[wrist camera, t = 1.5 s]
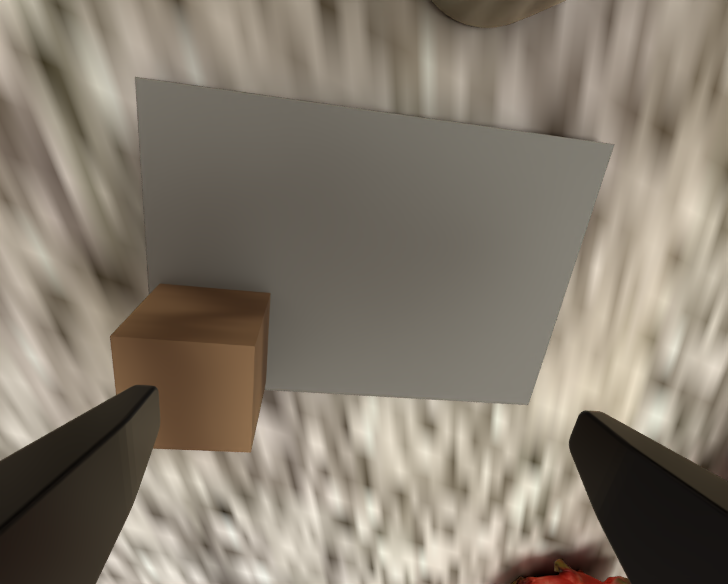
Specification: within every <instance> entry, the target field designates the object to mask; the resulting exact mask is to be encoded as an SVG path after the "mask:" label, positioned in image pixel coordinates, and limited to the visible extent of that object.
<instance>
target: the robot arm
mask: <svg viewBox="0 0 728 584" xmlns="http://www.w3.org/2000/svg"><path fill="white" fill-rule="evenodd" d="M159 428H160V405H159V392H158V389H157V387H155V386H151V385H134V386H132V387H130V388H128V389H126V390H124V391H123V392H121V393H119V394H117V395H116V396H114V397H112V398H110V399H108V400H107V401H105V402H103V403H101V404H100V405H98V406H96V407H94V408H93V409H91V410H89V411H87V412H86V413H84V414H82V415H80V416H78V417H77V418H75V419H73V420H71V421H70V422H68V423H66V424H64V425H63V426H61V427H59V428H57V429H55V430H54V431H52V432H50V433H48V434H47V435H45V436H43V437H41V438H40V439H38V440H36V441H34V442H33V443H31V444H29V445H27V446H25V447H24V448H22V449H20V450H18V451H17V452H15V453H13V454H11V455H10V456H8V457H6V458H4V459H2V460H1V461H0V584H96V582H97V580H98V578H99V576H100V574H101V572H102V570H103V568H104V565H105V563H106V561H107V559H108V557H109V555H110V553H111V551H112V549H113V547H114V544H115V542H116V540H117V538H118V536H119V534H120V532H121V530H122V528H123V526H124V523H125V521H126V519H127V517H128V515H129V513H130V510H131V508H132V506H133V503H134V501H135V498H136V495H137V493H138V490H139V487H140V484H141V481H142V478H143V475H144V472H145V470H146V467H147V464H148V461H149V458H150V455H151V452H152V449H153V446H154V443H155V441H156V438H157V435H158V432H159ZM569 448H570V452H571V455H572V457H573V460H574V462H575V465H576V467H577V470H578V472H579V475H580V477H581V480H582V482H583V485H584V487H585V490H586V492H587V495H588V497H589V500H590V502H591V504H592V507H593V509H594V512H595V514H596V516H597V518H598V520H599V522H600V524H601V527H602V529H603V530H604V532H605V534H606V536H607V538H608V540H609V542H610V544H611V546H612V548H613V550H614V552H615V554H616V556H617V558H618V560H619V562H620V564H621V566H622V568H623V570H624V572H625V573H626V575H627V577H628V579H629V581H630V583H631V584H728V481H726V480H724V479H722V478H721V477H719V476H717V475H715V474H713V473H712V472H710V471H708V470H706V469H704V468H703V467H701V466H699V465H697V464H695V463H694V462H692V461H690V460H688V459H686V458H684V457H683V456H681V455H679V454H677V453H675V452H674V451H672V450H670V449H668V448H666V447H665V446H663V445H661V444H659V443H657V442H656V441H654V440H652V439H650V438H648V437H647V436H645V435H643V434H641V433H639V432H637V431H636V430H634V429H632V428H630V427H628V426H627V425H625V424H623V423H621V422H619V421H618V420H616V419H614V418H612V417H610V416H609V415H607V414H605V413H603V412H600V411H583V412H581V413H580V414H579V416H578V418H577V421H576V424H575V426H574V429H573V431H572V434H571V436H570V440H569Z"/></svg>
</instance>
